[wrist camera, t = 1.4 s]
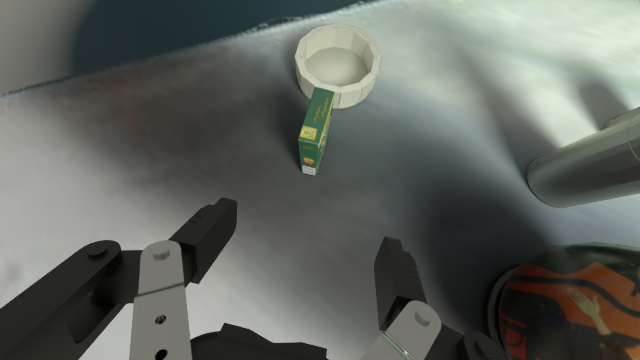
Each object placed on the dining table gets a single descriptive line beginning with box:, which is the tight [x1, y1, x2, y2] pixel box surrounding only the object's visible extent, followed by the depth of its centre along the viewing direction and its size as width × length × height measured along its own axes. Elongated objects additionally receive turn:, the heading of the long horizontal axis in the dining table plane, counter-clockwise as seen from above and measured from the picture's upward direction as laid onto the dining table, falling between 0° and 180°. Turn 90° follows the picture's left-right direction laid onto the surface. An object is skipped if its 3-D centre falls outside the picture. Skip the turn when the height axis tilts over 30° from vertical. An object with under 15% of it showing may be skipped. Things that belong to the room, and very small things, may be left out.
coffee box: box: [298, 87, 335, 176], centre depth 36 cm, size 8×3×13 cm, turn 164°
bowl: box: [295, 24, 381, 109], centre depth 45 cm, size 15×15×5 cm
